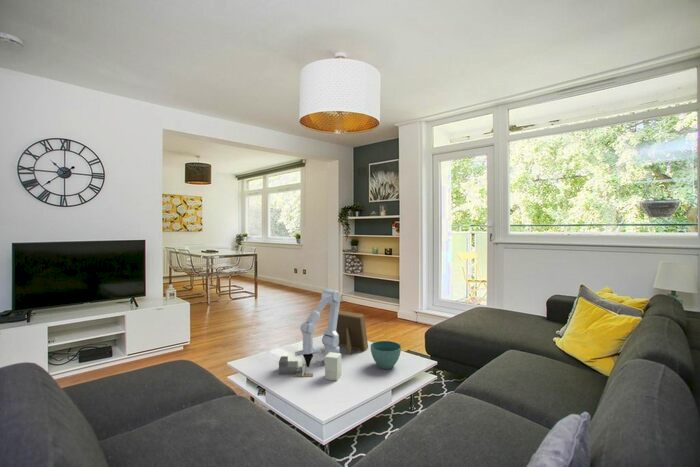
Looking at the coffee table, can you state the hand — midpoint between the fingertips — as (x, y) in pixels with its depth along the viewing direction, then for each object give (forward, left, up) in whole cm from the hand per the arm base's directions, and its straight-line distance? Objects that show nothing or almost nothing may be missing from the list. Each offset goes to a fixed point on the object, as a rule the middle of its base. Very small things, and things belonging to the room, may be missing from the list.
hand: (307, 366), depth 202 cm
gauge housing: (+11, 0, -2) cm, 11 cm away
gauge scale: (+2, +6, -2) cm, 7 cm away
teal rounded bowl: (-46, -5, -3) cm, 46 cm away
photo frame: (-25, -33, -3) cm, 41 cm away
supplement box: (-15, +9, -3) cm, 18 cm away
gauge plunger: (+7, +2, -2) cm, 7 cm away
